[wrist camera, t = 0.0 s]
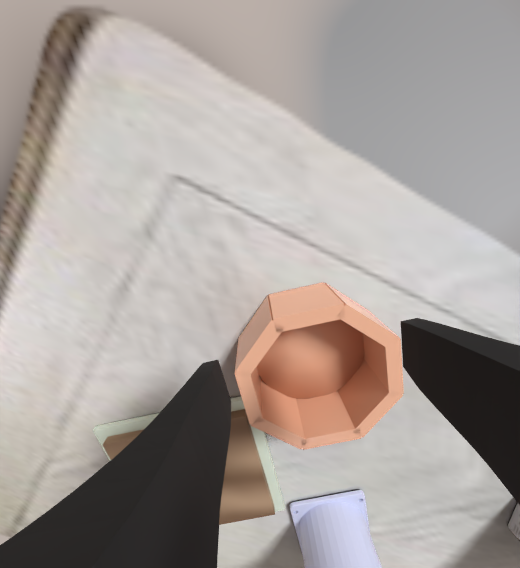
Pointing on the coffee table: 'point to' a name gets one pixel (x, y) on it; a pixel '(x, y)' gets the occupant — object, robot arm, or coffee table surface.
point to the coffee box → (515, 522)
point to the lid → (229, 472)
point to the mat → (236, 404)
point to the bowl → (317, 367)
